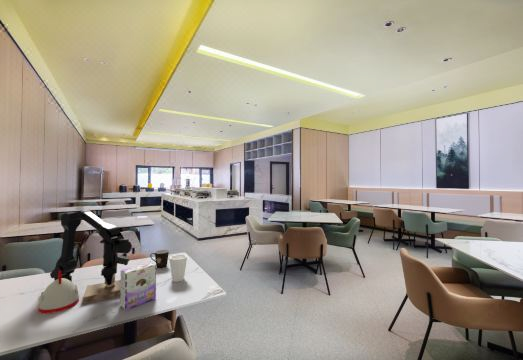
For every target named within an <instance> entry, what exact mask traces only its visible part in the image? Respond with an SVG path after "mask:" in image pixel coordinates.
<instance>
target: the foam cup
mask: <svg viewBox="0 0 523 360" xmlns="http://www.w3.org/2000/svg"><path fill="white" fill-rule="evenodd" d="M168 260H169V261H168V262H169V264H170V274H171V281H172V282H175V283H178V282H179V281H180V282H182V281H184V280H185V273H186V268H187V267H186V266H187V260H188V257H187V254H174V255H171V256H168ZM183 279H184V280H183Z"/></svg>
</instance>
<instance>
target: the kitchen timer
mask: <svg viewBox="0 0 523 360" xmlns="http://www.w3.org/2000/svg"><path fill="white" fill-rule="evenodd" d="M39 297H40V298H39V300H38V301H39V303H38V307H37V308H38V309H37V310H38V313H41V314H46V315H47V314H54V313H58V312H62V311H65V310H69V309H71V308H73V307H75V305H77V304H78V303H79V302H80V294H79V289H78V286H77V284H74V283H73V281H72V282H71V281H70V280H68V279H64V278H61V271H59V273H58V279H57V280H55V281H54V280H53V281H52V282H51V283H49V285H48V286H47V287H46V288H45V290H44V291H42V292H41V293H40V296H39Z"/></svg>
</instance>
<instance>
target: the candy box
mask: <svg viewBox="0 0 523 360" xmlns="http://www.w3.org/2000/svg"><path fill="white" fill-rule="evenodd" d="M156 275H157V268H156V263H153V262H147V263H142V264H140V265H139V264H138V265H136V266H132V267H128V268H125V269H124V268H123V269H120V280H121V286H120V296H119V297H120V299H119V301H120V302H119V305H120V307H121V308H122V310H124V311H127V310H130V309H133V308H136V307H139V306H140V305H143V304H145V303H147V302H151V301H153V300H156V299H157V288H156V287H157V283H156V282H157V276H156Z"/></svg>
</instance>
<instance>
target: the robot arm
mask: <svg viewBox="0 0 523 360" xmlns="http://www.w3.org/2000/svg"><path fill="white" fill-rule="evenodd" d="M82 220H83V221H84V222H85V223H87V224H89V225H90V226H91V227H93V228H94V229H95V230H97V232H98V235H99V236H100V237H101V238H102V240H100V241H99V244H103V255H102V258H103V260H102V261H103V264H102V267H103V268H101V272H100V275H101V276H102V277H103V278H104V281H105V280H106V282H107V284H108V285H111V282H112V278H113V275H114V274H115V275H116V274H117V273H118V264H119V265H123V266H127V265H128V264H129V261H130V256H129V255H127V254H129V253H130V252H131V251H132V247H133V245H132V242H130V241H129V239H128V238H126V239H125V237H124V235H123V234H122V232H121V231H120V228H119V227H118V226H116V225H114V224H112V223H108V222H105V221H104V220H103V219H101V218H100V217H98V216H97V215H96V214H94V213H93V212H92V211H91V210H90V209H83V210H79V211H71V212H64V213H63V214H61V217H60V225H61V226H62V228H63V236H62V237H63V238H62V245H61V254H60V257H59V258H58V260H57V261H56V263H55V267H54V269H53V270H52V271H51V272H49V273H50V274H49V276H50V278H52V279H53V281H55V280H57V279H58V273H59V271H61V278H64V279H68V280H70V281H71V282H72V283H73V276H72V275H71V274H74V272H75V270H76V269H77V266H78V258H75V256H74V253H75V252H74V250H75V243H76V242H75V241H76V235H77V229H78V228H79V227H80V225H81V223H82Z"/></svg>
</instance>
